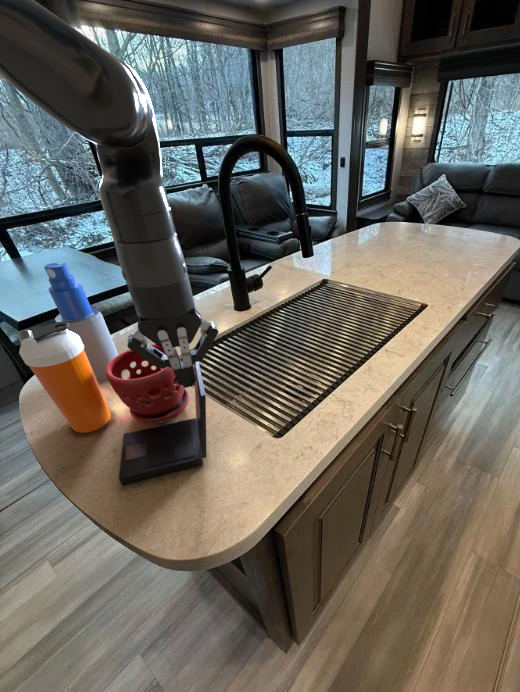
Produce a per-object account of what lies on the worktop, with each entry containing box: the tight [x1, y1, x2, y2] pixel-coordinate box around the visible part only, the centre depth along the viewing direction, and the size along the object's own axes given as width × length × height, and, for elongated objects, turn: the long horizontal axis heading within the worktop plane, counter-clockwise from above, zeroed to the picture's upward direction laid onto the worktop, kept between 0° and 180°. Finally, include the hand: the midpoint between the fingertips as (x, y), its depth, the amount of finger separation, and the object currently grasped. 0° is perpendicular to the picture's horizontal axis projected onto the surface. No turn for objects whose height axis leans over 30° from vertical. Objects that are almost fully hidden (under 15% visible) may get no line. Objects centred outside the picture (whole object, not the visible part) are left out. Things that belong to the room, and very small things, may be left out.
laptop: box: [118, 417, 204, 487], centre depth 59 cm, size 13×11×2 cm
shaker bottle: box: [18, 322, 112, 434], centre depth 60 cm, size 9×9×20 cm
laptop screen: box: [193, 361, 207, 459], centre depth 56 cm, size 13×11×1 cm
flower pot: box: [106, 343, 190, 424], centre depth 65 cm, size 13×13×12 cm
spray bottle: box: [43, 262, 119, 382], centre depth 73 cm, size 9×9×25 cm
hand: (187, 384), depth 53 cm, fingers closed
